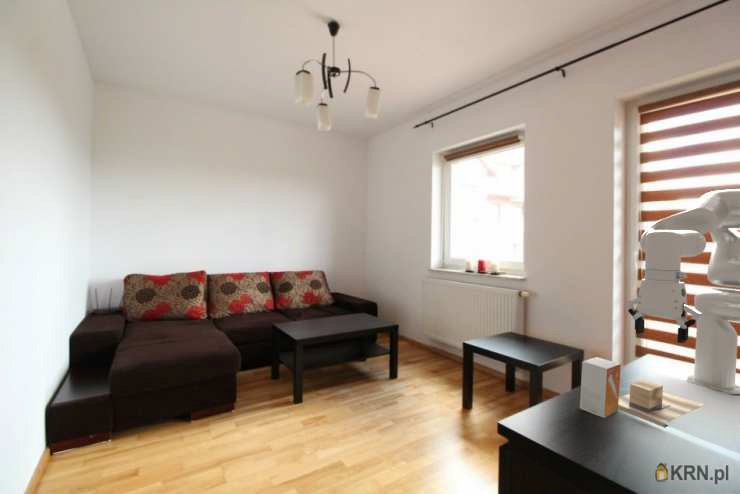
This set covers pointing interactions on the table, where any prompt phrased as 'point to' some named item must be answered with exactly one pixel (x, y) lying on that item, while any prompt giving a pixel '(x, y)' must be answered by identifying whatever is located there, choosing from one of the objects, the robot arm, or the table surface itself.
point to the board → (669, 411)
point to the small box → (600, 386)
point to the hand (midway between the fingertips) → (659, 337)
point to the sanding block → (646, 396)
